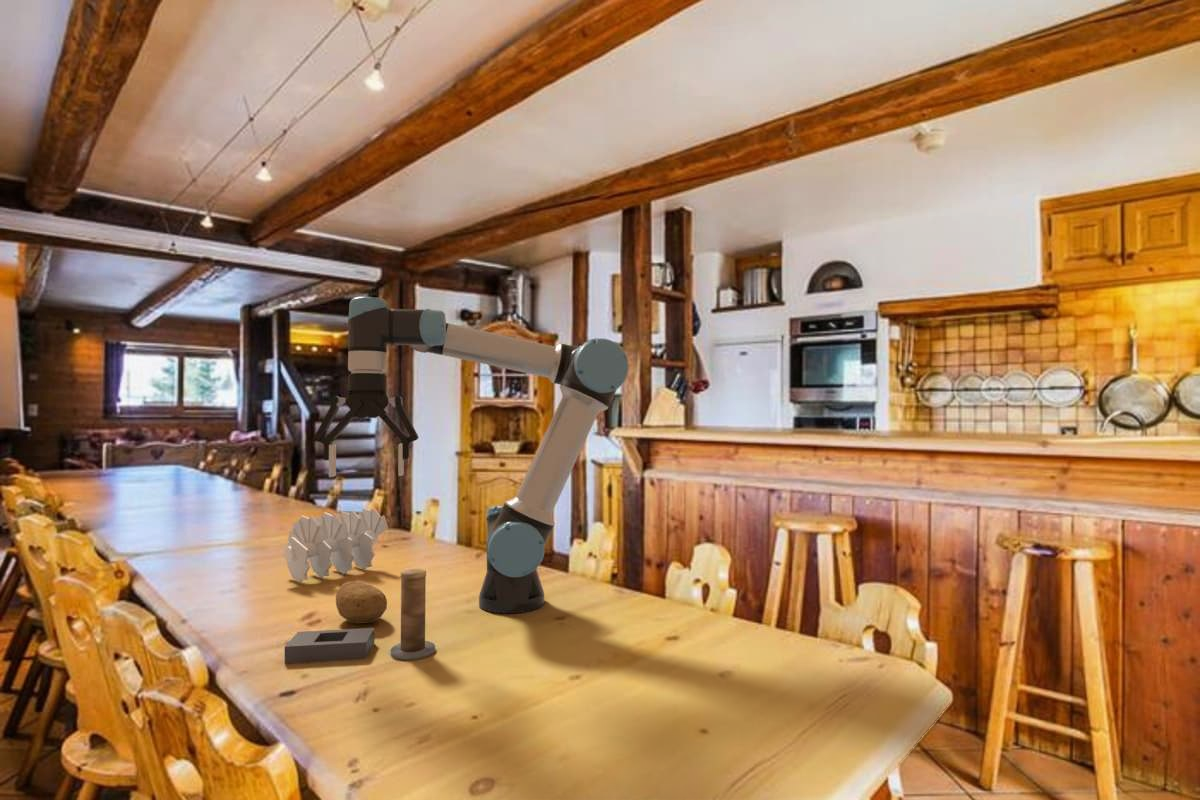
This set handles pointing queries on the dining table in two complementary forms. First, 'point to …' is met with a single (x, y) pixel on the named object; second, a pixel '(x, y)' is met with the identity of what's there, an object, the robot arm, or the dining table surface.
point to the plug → (413, 610)
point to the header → (329, 645)
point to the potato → (360, 602)
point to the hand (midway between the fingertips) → (367, 476)
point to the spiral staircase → (333, 542)
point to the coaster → (402, 655)
